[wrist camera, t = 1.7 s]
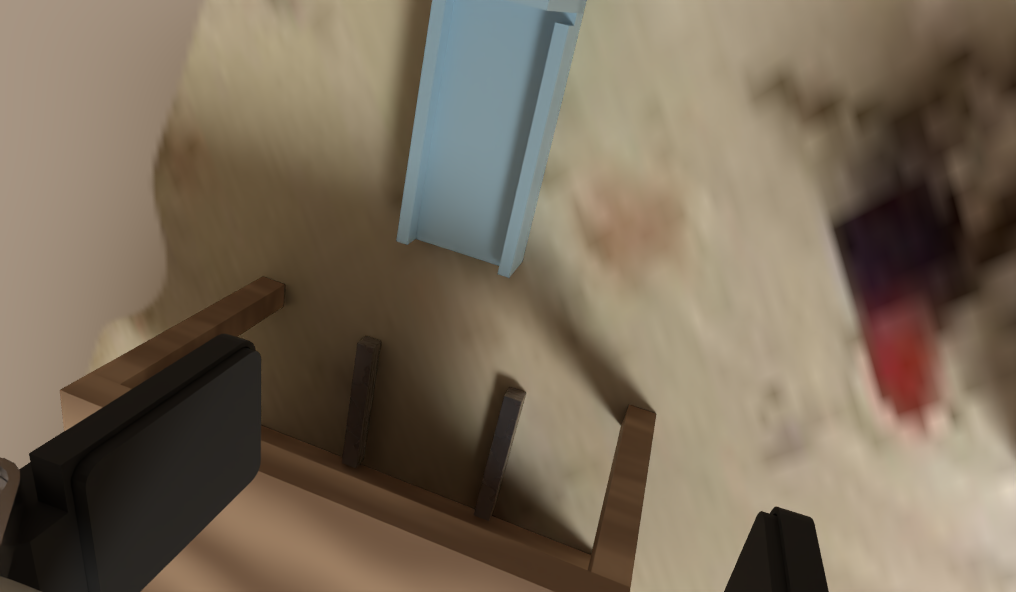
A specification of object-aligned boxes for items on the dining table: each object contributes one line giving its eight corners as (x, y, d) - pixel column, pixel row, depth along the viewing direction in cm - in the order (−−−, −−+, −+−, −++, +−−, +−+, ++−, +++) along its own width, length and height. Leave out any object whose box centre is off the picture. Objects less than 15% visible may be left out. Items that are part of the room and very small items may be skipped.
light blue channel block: (473, -121, 27) (403, -162, 21) (609, -91, 26) (576, -126, 20) (416, 227, 34) (351, 271, 28) (522, 261, 33) (479, 315, 27)
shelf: (262, 276, 38) (59, 389, 27) (656, 413, 34) (625, 620, 23) (254, 434, 44) (81, 588, 32) (595, 569, 40) (544, 805, 28)
